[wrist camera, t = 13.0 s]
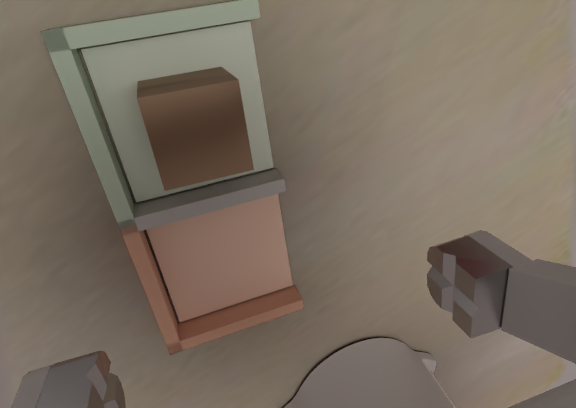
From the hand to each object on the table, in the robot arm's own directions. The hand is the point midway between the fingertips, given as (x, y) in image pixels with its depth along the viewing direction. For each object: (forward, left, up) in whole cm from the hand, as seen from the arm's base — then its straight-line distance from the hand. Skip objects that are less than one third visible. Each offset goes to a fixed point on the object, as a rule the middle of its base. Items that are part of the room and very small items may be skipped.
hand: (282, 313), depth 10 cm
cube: (+1, 0, -18) cm, 18 cm away
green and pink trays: (-5, 0, -19) cm, 19 cm away
